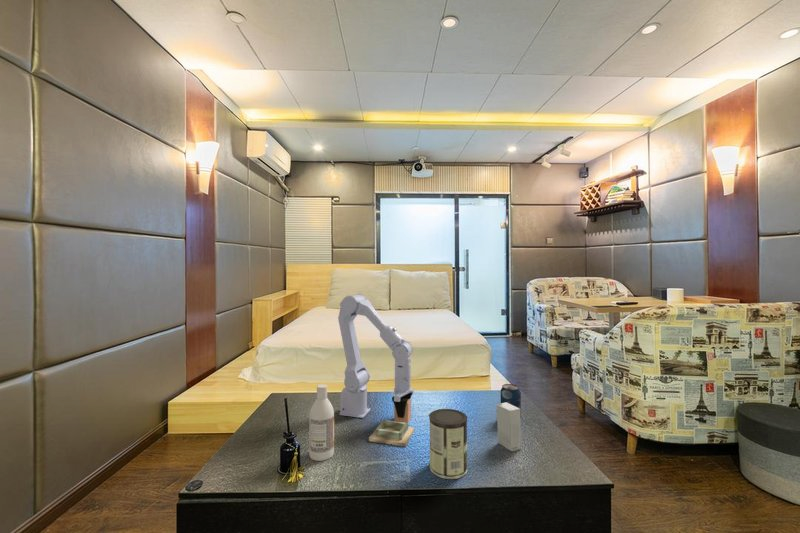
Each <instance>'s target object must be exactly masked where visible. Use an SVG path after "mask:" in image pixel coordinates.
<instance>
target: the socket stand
mask: <svg viewBox="0 0 800 533" xmlns="http://www.w3.org/2000/svg"><path fill="white" fill-rule="evenodd" d="M415 431H416V430H415V426H414V427H413V426H409V423H404V422H397V421H394V420H389V419H383V420H382V421H381V422H380V423H379V424H378V426H377V427H376V428H375V429H374V431H372V433H371V434H370V436H369V437H368V441H369V442H373V443H380V444H384V443H385V444H386V445H391V444H392V445H391V446H399V447H407V445H408V444H409V441H410V440H411V438H412V436H413V434H414V432H415Z"/></svg>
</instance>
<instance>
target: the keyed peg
mask: <svg viewBox="0 0 800 533" xmlns="http://www.w3.org/2000/svg"><path fill="white" fill-rule="evenodd" d="M393 406H394V407H393V408H394V409H393V412H394V413H393V414H394V415H393V416H394V418H393V419H394V420H393V421H397V422H404V423H408V424H409V422H410V421H411V419H412V398H411V399H408V401H407V404H406V408H405V415H404V418H399V417H398V416H397V412H396V408H395V405H394V404H393Z"/></svg>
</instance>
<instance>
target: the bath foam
mask: <svg viewBox="0 0 800 533" xmlns="http://www.w3.org/2000/svg"><path fill="white" fill-rule="evenodd" d="M334 410H335V409H334V407H333V405H332V403H331V402H330V400H329V399H328V385H327V384H317V386H316V399H315V401H314V402H313V404H312V406H311V408H310V410H309V434H308V436H309V440H308V442H309V447H308V448H309V451H308V452H309V457H310V459H311V460H313V461H316V462H322V461H326V460H329V459H330V458H332V457H333V456H334V453H335V411H334Z"/></svg>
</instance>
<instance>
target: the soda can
mask: <svg viewBox="0 0 800 533" xmlns="http://www.w3.org/2000/svg"><path fill="white" fill-rule="evenodd" d="M505 402H507V403H509V404H511V405H513V406H515V407H517V408H519V409H520V420H521V419H522V391H521V390H520V387H519V385H516V384H514V383H513V384H512V383H505V384H502V387H501V388H500V404H501V403H505Z"/></svg>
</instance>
